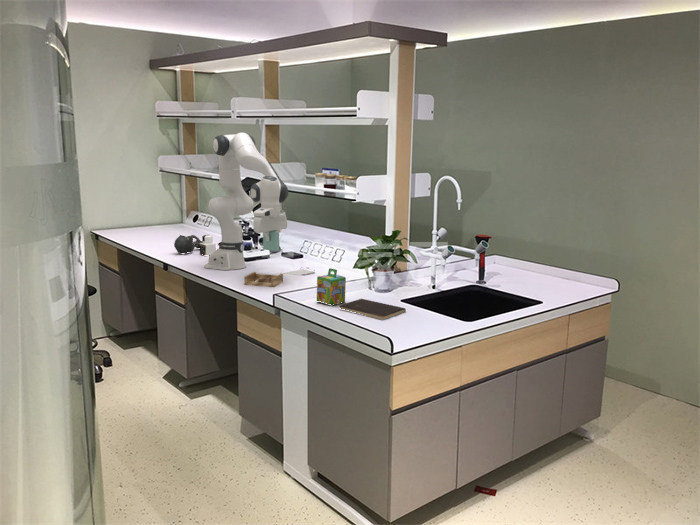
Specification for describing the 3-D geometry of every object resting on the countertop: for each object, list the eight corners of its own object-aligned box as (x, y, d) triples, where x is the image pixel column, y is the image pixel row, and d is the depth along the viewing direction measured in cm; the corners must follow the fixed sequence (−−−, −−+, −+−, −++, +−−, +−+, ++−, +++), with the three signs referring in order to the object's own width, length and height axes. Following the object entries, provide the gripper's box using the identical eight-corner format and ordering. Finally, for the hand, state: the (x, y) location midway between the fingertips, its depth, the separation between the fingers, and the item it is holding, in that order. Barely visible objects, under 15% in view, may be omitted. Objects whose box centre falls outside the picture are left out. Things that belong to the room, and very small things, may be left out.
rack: (244, 286, 296) (244, 276, 295) (254, 281, 306) (253, 271, 305) (274, 289, 292) (274, 278, 291) (282, 284, 302) (282, 274, 301)
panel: (263, 249, 298) (262, 230, 296) (266, 248, 300) (266, 230, 298) (276, 251, 293) (275, 232, 292) (279, 250, 295) (279, 231, 294)
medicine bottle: (199, 254, 374) (199, 235, 372) (210, 253, 379) (209, 233, 377) (205, 256, 369) (205, 236, 367) (216, 255, 374) (215, 235, 372)
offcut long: (254, 284, 296) (254, 281, 296) (257, 282, 300) (257, 279, 300) (267, 285, 295) (267, 282, 294) (270, 283, 298) (270, 280, 298)
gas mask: (206, 264, 388) (180, 251, 367) (195, 262, 392) (169, 250, 371) (212, 242, 391) (187, 228, 370) (201, 241, 395) (176, 227, 374)
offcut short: (258, 281, 295) (258, 278, 295) (260, 280, 299) (260, 277, 299) (268, 282, 295) (268, 279, 294) (270, 280, 298) (270, 277, 298)
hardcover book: (382, 321, 245) (382, 316, 244) (338, 310, 259) (338, 305, 259) (405, 313, 257) (405, 307, 256) (362, 303, 271) (362, 298, 271)
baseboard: (253, 279, 313) (269, 284, 305) (253, 274, 313) (269, 278, 305) (299, 271, 335) (314, 274, 327) (299, 265, 335) (314, 269, 327)
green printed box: (316, 302, 269) (316, 269, 266) (330, 298, 276) (330, 266, 273) (331, 306, 263) (331, 272, 260) (346, 302, 270) (346, 269, 267)
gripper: (280, 209, 303) (280, 237, 306) (250, 212, 287) (251, 242, 289) (290, 209, 300) (290, 238, 302) (260, 213, 283) (261, 243, 286)
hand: (271, 240), depth 296 cm, fingers closed on panel, 2 cm apart
